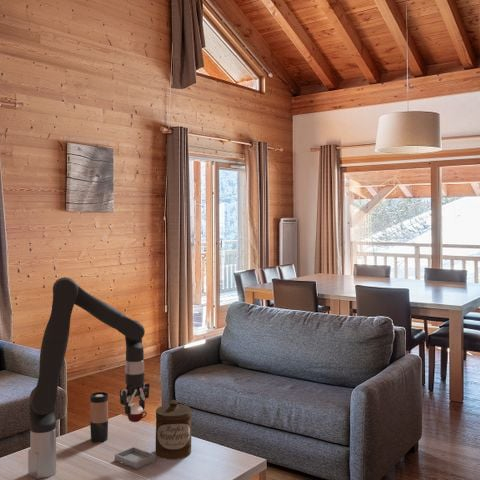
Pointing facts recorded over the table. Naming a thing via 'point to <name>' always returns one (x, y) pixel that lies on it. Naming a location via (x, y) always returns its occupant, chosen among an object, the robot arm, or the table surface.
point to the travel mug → (99, 416)
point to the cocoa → (136, 413)
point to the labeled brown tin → (173, 431)
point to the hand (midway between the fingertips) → (134, 412)
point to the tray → (135, 457)
